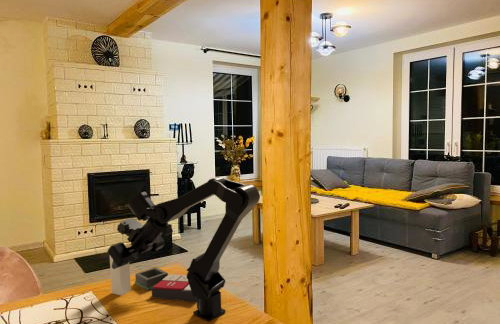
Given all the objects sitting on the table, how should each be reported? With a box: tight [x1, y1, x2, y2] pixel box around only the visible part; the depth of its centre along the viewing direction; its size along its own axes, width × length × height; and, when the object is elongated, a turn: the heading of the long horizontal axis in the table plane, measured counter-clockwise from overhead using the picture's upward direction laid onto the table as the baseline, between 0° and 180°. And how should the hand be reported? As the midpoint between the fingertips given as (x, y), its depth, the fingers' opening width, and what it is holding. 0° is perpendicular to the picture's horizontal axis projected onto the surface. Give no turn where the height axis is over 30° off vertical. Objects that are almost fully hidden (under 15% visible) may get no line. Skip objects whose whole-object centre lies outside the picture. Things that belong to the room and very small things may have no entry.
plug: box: [109, 255, 131, 296], centre depth 116 cm, size 4×4×14 cm
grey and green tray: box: [134, 266, 169, 291], centre depth 123 cm, size 8×8×3 cm
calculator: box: [150, 273, 197, 304], centre depth 115 cm, size 11×4×15 cm
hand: (124, 262), depth 115 cm, fingers open, 9 cm apart
